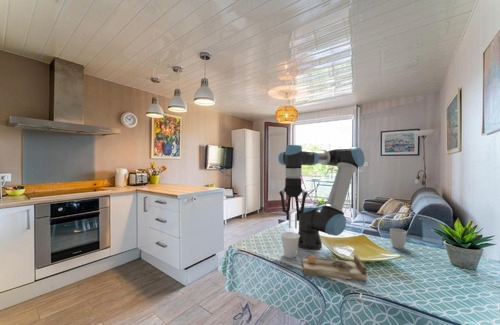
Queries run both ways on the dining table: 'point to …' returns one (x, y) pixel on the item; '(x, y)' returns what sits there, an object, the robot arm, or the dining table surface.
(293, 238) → the cup
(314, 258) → the ball
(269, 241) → the dining table surface
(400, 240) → the cup
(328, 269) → the board
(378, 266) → the dining table surface
